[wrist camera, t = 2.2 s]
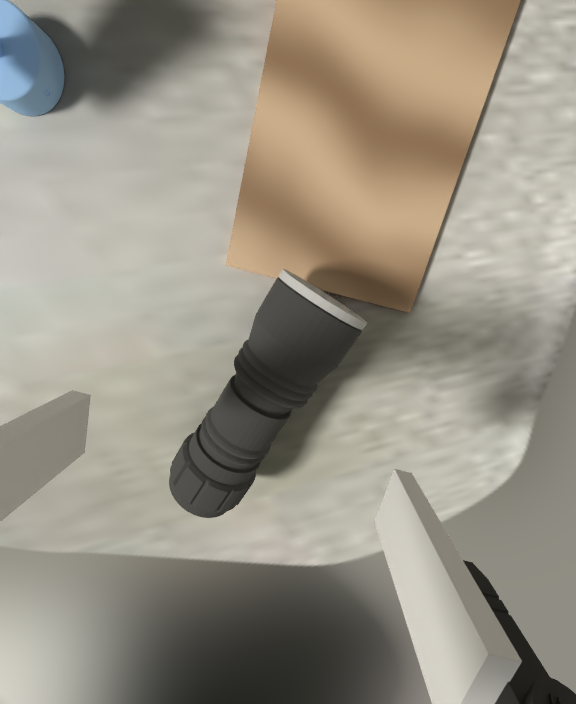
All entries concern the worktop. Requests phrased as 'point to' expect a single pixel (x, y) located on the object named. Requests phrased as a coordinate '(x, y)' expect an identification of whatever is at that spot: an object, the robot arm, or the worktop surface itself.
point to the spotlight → (27, 64)
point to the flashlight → (262, 393)
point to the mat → (363, 139)
